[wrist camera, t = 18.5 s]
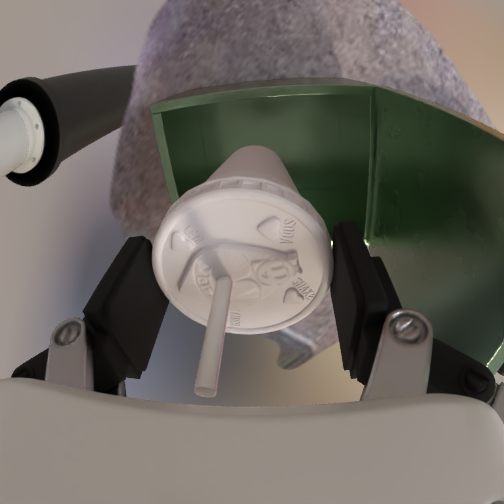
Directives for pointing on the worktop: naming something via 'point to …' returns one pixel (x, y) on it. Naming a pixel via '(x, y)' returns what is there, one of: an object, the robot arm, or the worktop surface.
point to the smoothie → (242, 254)
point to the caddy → (279, 139)
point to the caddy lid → (442, 220)
